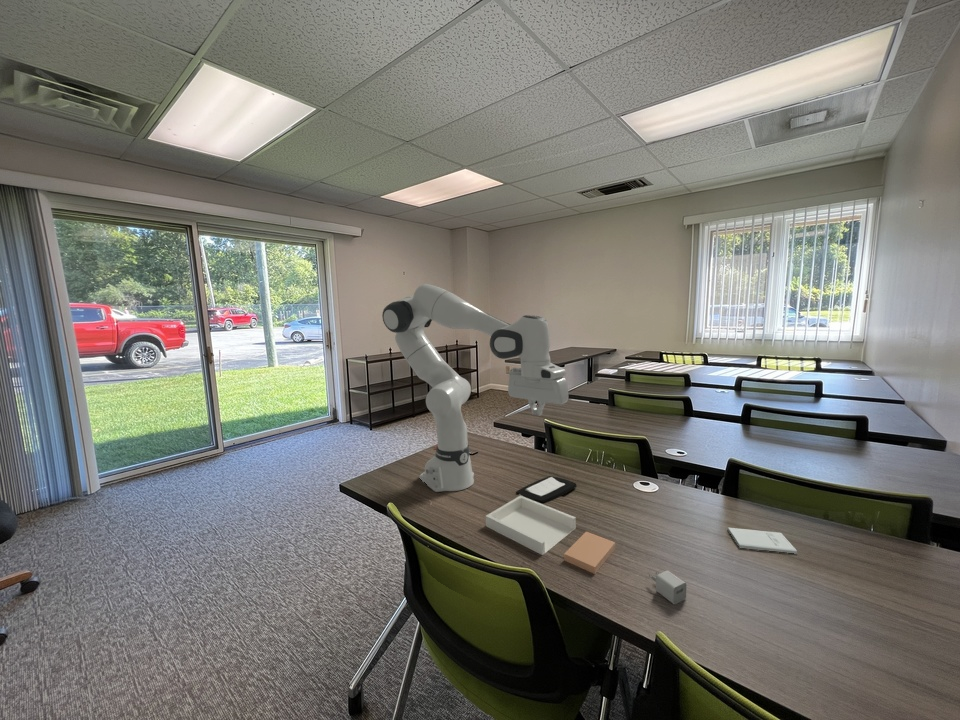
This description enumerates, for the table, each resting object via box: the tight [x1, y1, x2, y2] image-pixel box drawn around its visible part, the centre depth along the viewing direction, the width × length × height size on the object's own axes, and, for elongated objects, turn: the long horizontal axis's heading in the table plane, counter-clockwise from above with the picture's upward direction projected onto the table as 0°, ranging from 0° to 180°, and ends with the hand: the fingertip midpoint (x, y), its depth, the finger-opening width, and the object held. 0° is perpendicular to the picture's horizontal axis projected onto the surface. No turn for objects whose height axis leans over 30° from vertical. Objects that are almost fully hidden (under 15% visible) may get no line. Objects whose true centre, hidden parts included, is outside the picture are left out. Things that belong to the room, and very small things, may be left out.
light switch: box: [515, 475, 577, 505], centre depth 131 cm, size 20×3×14 cm
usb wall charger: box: [648, 570, 688, 605], centre depth 82 cm, size 4×7×4 cm, turn 24°
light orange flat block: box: [563, 531, 616, 575], centre depth 95 cm, size 8×12×3 cm, turn 139°
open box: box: [485, 494, 577, 556], centre depth 108 cm, size 20×16×4 cm
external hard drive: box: [727, 527, 798, 555], centre depth 98 cm, size 2×8×12 cm
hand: (537, 414), depth 114 cm, fingers closed
